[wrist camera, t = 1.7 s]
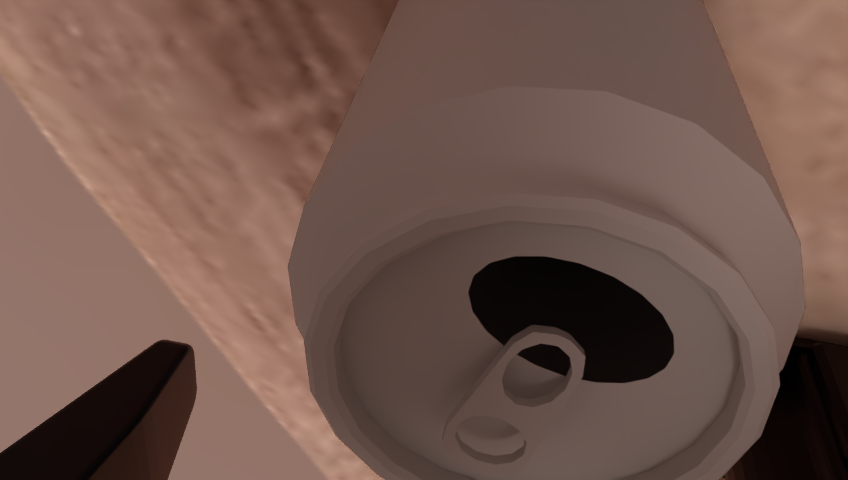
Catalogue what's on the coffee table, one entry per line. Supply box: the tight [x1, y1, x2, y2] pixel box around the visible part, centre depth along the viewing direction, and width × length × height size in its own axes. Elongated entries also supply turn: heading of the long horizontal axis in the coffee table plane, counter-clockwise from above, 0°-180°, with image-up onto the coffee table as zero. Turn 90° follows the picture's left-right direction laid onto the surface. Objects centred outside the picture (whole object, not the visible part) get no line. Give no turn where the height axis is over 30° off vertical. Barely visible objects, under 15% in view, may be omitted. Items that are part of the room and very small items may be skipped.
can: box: [288, 0, 805, 480], centre depth 15 cm, size 8×8×12 cm
